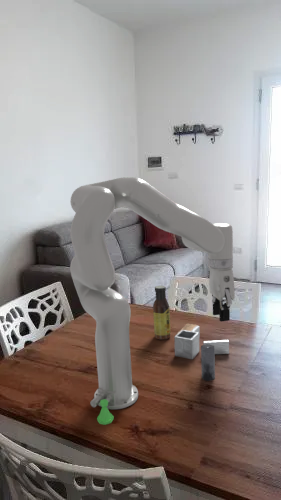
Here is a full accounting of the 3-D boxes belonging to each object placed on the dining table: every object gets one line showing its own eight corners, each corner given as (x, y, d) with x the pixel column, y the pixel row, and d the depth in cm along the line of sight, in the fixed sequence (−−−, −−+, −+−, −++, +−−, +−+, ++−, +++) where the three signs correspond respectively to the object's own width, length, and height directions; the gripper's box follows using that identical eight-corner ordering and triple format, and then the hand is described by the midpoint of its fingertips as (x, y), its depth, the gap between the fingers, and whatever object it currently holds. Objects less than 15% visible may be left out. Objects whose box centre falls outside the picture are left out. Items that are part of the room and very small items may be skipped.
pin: (212, 381, 121) (211, 351, 119) (199, 379, 123) (199, 348, 121) (216, 375, 124) (216, 345, 122) (204, 372, 126) (203, 343, 124)
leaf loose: (204, 354, 138) (203, 342, 137) (203, 353, 139) (203, 341, 138) (229, 353, 138) (229, 341, 137) (228, 352, 139) (228, 339, 138)
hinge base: (192, 359, 135) (191, 339, 134) (167, 354, 140) (166, 335, 139) (210, 338, 151) (210, 320, 149) (187, 334, 155) (187, 317, 154)
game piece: (117, 418, 106) (115, 398, 105) (105, 427, 103) (103, 405, 102) (105, 412, 109) (104, 392, 107) (93, 420, 106) (92, 400, 104)
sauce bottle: (171, 340, 151) (169, 289, 147) (154, 340, 151) (152, 290, 147) (170, 333, 157) (168, 284, 153) (154, 333, 158) (151, 284, 153)
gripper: (243, 268, 119) (243, 326, 123) (221, 256, 135) (221, 307, 139) (219, 270, 117) (220, 329, 121) (199, 258, 134) (200, 310, 138)
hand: (221, 317), depth 130 cm, fingers open, 4 cm apart
